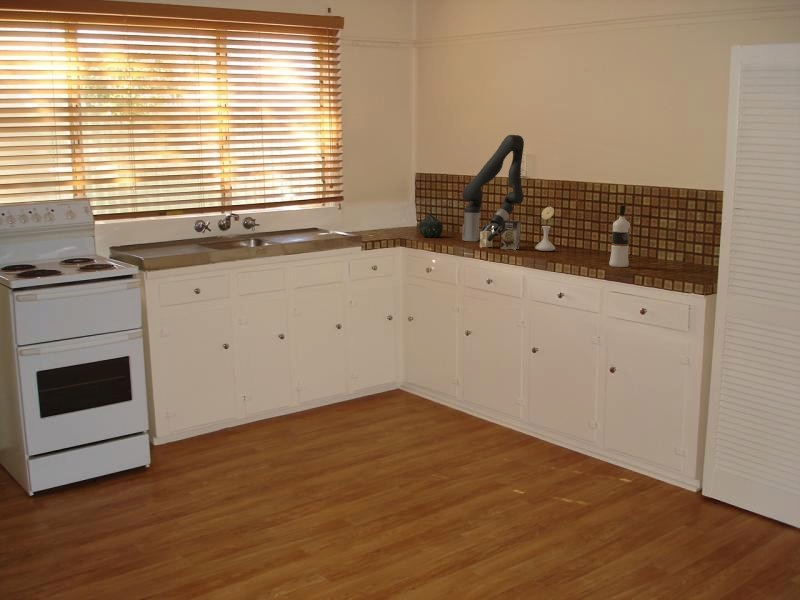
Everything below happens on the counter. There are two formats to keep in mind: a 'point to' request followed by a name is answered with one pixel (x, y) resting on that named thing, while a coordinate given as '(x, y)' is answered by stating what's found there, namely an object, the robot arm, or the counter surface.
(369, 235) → the counter surface
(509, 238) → the coffee box
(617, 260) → the vodka
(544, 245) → the flower in vase
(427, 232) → the squash
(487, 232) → the maple block
